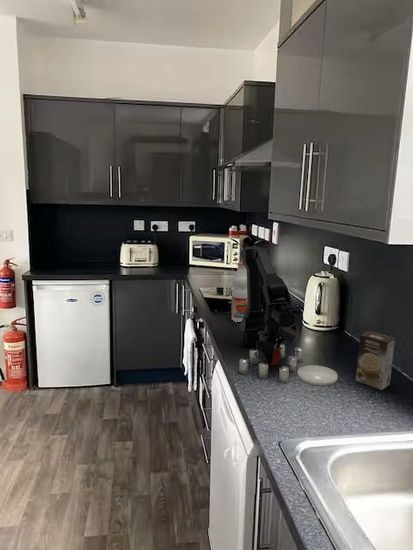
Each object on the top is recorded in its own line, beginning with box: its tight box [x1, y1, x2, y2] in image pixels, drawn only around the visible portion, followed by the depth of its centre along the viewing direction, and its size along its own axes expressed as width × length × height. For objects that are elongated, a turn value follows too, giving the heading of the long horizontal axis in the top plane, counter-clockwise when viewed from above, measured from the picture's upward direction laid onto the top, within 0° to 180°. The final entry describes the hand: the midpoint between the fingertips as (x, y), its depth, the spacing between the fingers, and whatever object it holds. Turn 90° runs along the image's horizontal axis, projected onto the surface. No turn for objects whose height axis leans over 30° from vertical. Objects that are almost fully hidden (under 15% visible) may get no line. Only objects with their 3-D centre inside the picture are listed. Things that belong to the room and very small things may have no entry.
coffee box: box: [355, 330, 396, 391], centre depth 134 cm, size 9×6×16 cm
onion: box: [263, 348, 281, 367], centre depth 147 cm, size 6×6×8 cm
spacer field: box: [238, 343, 305, 384], centre depth 148 cm, size 17×22×4 cm
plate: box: [296, 364, 339, 387], centre depth 140 cm, size 13×13×1 cm
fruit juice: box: [231, 261, 248, 323], centre depth 197 cm, size 9×9×28 cm
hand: (272, 360), depth 148 cm, fingers closed on onion, 6 cm apart
